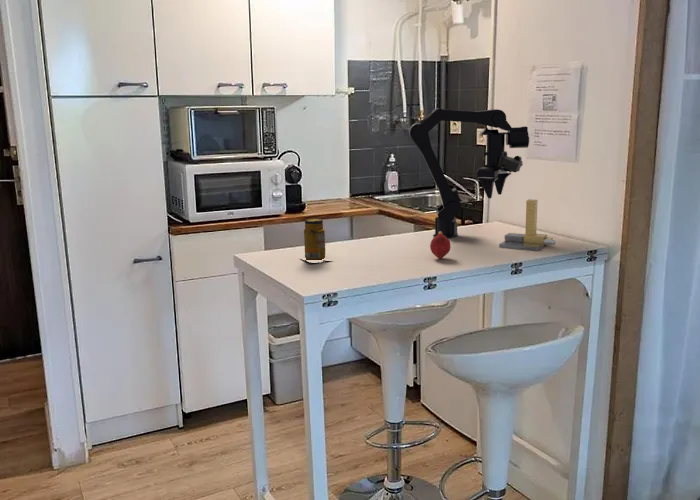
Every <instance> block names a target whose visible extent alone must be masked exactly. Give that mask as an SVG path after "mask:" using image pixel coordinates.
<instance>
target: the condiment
mask: <svg viewBox="0 0 700 500" xmlns="http://www.w3.org/2000/svg"><path fill="white" fill-rule="evenodd" d="M304 227H305V228H304V230H303V239H304V240H303V243H304V245H303V246H304V258H306V260H322V259H324V258H326V238H325V237H326V234H325V233H326V231H325V228H324V221H323V219H321V218H307V219H305V220H304Z"/></svg>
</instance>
